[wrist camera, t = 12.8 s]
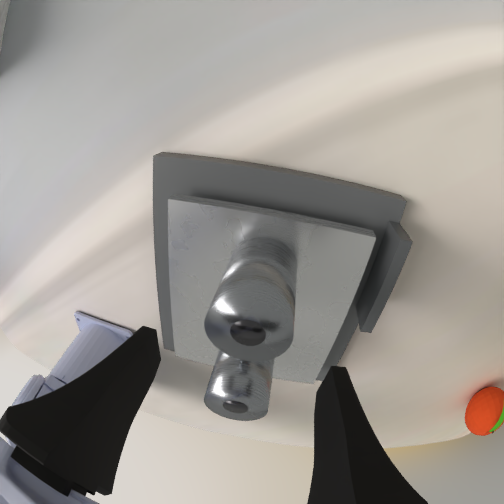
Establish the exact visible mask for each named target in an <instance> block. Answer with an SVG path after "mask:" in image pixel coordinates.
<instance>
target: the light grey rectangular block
mask: <svg viewBox="0 0 504 504" xmlns="http://www.w3.org/2000/svg"><path fill="white" fill-rule="evenodd" d="M10 1H11V0H0V54H1V46H2V39H3V33H4V28H5V23H6V18H7V13H8V9H9V5H10Z"/></svg>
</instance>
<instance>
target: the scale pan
mask: <svg viewBox="0 0 504 504" xmlns="http://www.w3.org/2000/svg"><path fill="white" fill-rule="evenodd" d="M254 237H269V238H273V239H276V240H278V241H280V242H282V243H283V244H285V245H286V246H287V247H288V248H289V249H290V250H291V251H292V253H293V254H294V256H295V259H296V262H297V284H296V304H295V321H294V336H293V341H292V344H291V345H290V347H289V348H288V350H287V351H285V352H284V353H283V354H282V355H280V356H278V357H276V358H275V359H274V367H273V375H272V378H276V379H282V380H288V381H295V382H302V383H309V384H314V382H315V380H316V378H317V376H318V374H319V372H320V370H321V368H322V366H323V364H324V362H325V360H326V358H327V356H328V354H329V352H330V350H331V348H332V346H333V344H334V342H335V339H336V337H337V335H338V333H339V331H340V329H341V326H342V324H343V322H344V320H345V317H346V315H347V313H348V310H349V308H350V306H351V303H352V301H353V299H354V296H355V294H356V291H357V289H358V286H359V284H360V281H361V279H362V276H363V273H364V271H365V268H366V266H367V263H368V260H369V257H370V255H371V252H372V249H373V246H374V243H375V240H376V236H375V234H374V232H373V230H370V229H366V228H361V227H357V226H352V225H348V224H343V223H338V222H334V221H329V220H324V219H319V218H314V217H309V216H304V215H299V214H294V213H289V212H283V211H278V210H273V209H267V208H262V207H256V206H250V205H245V204H239V203H233V202H227V201H221V200H214V199H208V198H202V197H195V196H188V195H182V194H174V195H172V196H171V197H170V198H169V199H168V255H169V281H170V299H171V314H172V327H173V338H174V349H175V356H177V357H180V358H184V359H188V360H192V361H195V362H199V363H203V364H207V365H212V366H214V365H215V361H216V358H217V355H218V352H219V349H218V348H217V347H216V346H214V345H213V343H212V342H211V341H210V340H209V338H208V336H207V334H206V332H205V327H204V321H205V317H206V314H207V312H208V310H209V307H210V305H211V302H212V300H213V298H214V295H215V293H216V291H217V288H218V286H219V283H220V281H221V279H222V276H223V274H224V272H225V269H226V267H227V265H228V262H229V260H230V258H231V255H232V253H233V251H234V250H235V248H236V247H237V246H238V245H239V244H240V243H242V242H243V241H245V240H247V239H250V238H254Z"/></svg>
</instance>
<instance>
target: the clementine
mask: <svg viewBox="0 0 504 504" xmlns="http://www.w3.org/2000/svg"><path fill="white" fill-rule="evenodd" d="M503 422H504V391H503V390H501V389H500V388H497V387H487V388H484V389H482V390H481V391H479V392H478V393H476V394H475V395H474V396H473V397H472V399H471V400H470V402H469V403H468V406H467V408H466V413H465V423H466V425H467V428H468V429H469V430H470V431H471V432H472V433H473V434H475V435H481V436H485V435H488V434H490V433H493V432H494V431H495V430H497V429H498V428H499V427H500V426H501V425H502V424H503Z"/></svg>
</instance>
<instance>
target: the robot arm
mask: <svg viewBox="0 0 504 504" xmlns="http://www.w3.org/2000/svg"><path fill="white" fill-rule="evenodd" d="M74 316H75V319H76V322H77V324H78V327H79V330H80V332H79V334H78V335H77V336H76V338H75V339H74V340H73V342H72V343H71V344H70V346H69V347H68V348H67V350H66V351H65V353H64V354H63V355H62V357H61V358H60V359H59V361H58V362H57V364H56V365H55V366H54V368H53V369H52V371H51V372H50V374H49V375H48V376H47V377H46V378H44V377H43V376H42V375H33V376H32V377H31V378H30V380H29V381H28V382H27V383H26V385H25V386H24V388H23V389H22V390H21V392H20V393H19V395H18V397H17V398H16V399H15V401H14V402H13V404H12V406H10V407H8V408H7V410H6V411H5V413H4V415H3V416H2V418H1V419H0V432H1V433H3V434H4V435H5V437H6V439H7V442H8V443H7V442H6V441H5V440H3V439H2V438H1V437H0V504H99V503H97V502H95V501H93V500H91V499H89V498H87V497H85V496H86V493H87V492H88V493H90V494H92V495H95V492H98V493H100V494H102V495H109V494H112V489H113V484H114V479H115V475H116V471H117V467H118V463H119V460H120V456H121V452H122V450H123V446H124V443H125V440H126V438H127V434H128V432H129V429H130V426H131V424H132V422H133V420H134V417H135V415H136V414H137V411H138V410H139V408H140V406H141V404H142V402H143V400H144V398H145V396H146V394H147V392H148V390H149V388H150V386H151V384H152V382H153V380H154V378H155V375H156V372H157V369H158V367H159V364H160V361H161V357H160V351H159V345H158V338H157V331H156V329H152V328H149V327H145V326H142V327H141V328H140V329H138V330H137V331H136V332H135V333H134V334H133V333H132V332H131V331H130V330H128V329H125V328H122V327H119V326H116V325H113V324H110V323H107V322H105V321H102V320H99V319H96V318H94V317H91V316H88V315H86V314H83V313H80V312H78V311H76V312H75V313H74ZM307 504H428V503H427V501H426V500H425V499H423V498H422V497H421V496H420V495H419V494H418V493H417V492H416V491H415V490H414V489H413V488H412V486H411V485H410V484H409V483H408V482H407V481H406V480H405V478H404V477H403V476H402V475H401V473H400V472H399V471H398V470H397V468H396V467H395V466H394V464H393V463H392V462H391V460H390V458H389V457H388V456H387V454H386V452H385V451H384V449H383V448H382V446H381V444H380V443H379V441H378V439H377V437H376V435H375V434H374V432H373V430H372V428H371V426H370V424H369V422H368V420H367V417H366V415H365V413H364V411H363V409H362V406H361V404H360V402H359V399H358V397H357V394H356V392H355V390H354V387H353V384H352V382H351V379H350V376H349V374H348V371H347V369H346V367H338V366H331V367H330V369H329V371H328V373H327V375H326V376H325V378H324V380H323V382H322V384H321V385H320V387H319V389H318V391H317V394H316V402H315V412H314V468H313V476H312V482H311V488H310V493H309V498H308V503H307Z"/></svg>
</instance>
